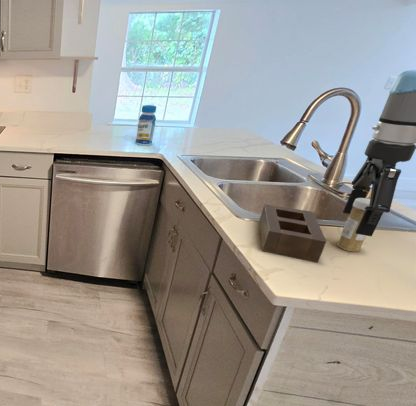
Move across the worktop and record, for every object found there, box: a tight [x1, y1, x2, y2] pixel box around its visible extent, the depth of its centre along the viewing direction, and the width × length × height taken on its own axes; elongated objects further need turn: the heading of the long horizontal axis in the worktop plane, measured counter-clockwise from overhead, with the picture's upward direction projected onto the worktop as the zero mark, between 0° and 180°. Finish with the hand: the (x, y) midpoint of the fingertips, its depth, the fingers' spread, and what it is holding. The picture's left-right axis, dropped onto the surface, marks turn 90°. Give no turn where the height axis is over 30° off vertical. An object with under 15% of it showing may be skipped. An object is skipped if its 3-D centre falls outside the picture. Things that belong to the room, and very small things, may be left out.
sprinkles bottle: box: [336, 197, 381, 252], centre depth 92 cm, size 5×5×14 cm
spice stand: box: [258, 203, 327, 263], centre depth 98 cm, size 11×20×6 cm, turn 147°
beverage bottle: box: [135, 104, 157, 146], centre depth 193 cm, size 8×8×20 cm
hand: (356, 223), depth 92 cm, fingers open, 13 cm apart
